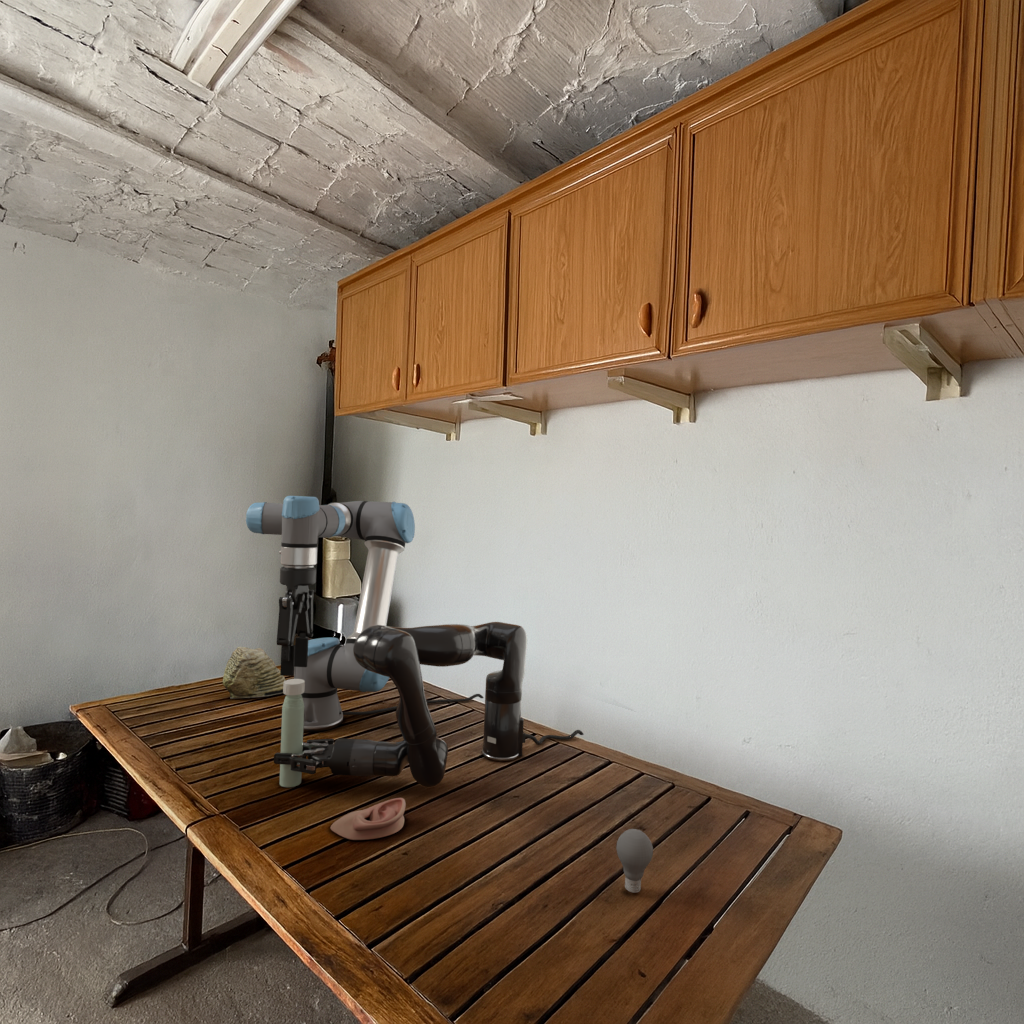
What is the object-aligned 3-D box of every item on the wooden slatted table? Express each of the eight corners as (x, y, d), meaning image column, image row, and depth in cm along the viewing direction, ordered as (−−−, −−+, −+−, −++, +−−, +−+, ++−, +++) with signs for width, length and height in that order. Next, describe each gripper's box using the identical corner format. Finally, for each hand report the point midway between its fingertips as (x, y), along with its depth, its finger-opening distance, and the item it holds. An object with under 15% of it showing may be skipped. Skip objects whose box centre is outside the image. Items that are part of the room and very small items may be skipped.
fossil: (218, 695, 195) (220, 647, 195) (278, 685, 208) (279, 640, 207) (228, 703, 189) (230, 653, 188) (289, 692, 201) (290, 645, 201)
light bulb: (610, 879, 108) (613, 822, 108) (644, 879, 109) (647, 822, 109) (619, 902, 102) (622, 840, 102) (655, 901, 103) (658, 840, 103)
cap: (308, 690, 141) (308, 680, 141) (296, 696, 137) (296, 685, 136) (291, 688, 142) (291, 677, 142) (279, 693, 138) (279, 682, 138)
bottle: (305, 780, 141) (309, 681, 141) (293, 788, 137) (296, 687, 136) (287, 776, 142) (291, 679, 142) (274, 785, 138) (278, 684, 138)
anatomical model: (323, 814, 118) (350, 787, 130) (322, 835, 118) (350, 806, 130) (389, 824, 116) (412, 796, 127) (389, 846, 116) (411, 816, 127)
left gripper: (299, 561, 149) (295, 659, 149) (261, 569, 129) (256, 682, 129) (330, 563, 148) (326, 660, 149) (297, 571, 129) (292, 684, 129)
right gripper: (364, 728, 146) (291, 724, 147) (347, 753, 132) (266, 749, 132) (363, 760, 146) (290, 757, 147) (346, 788, 132) (265, 784, 132)
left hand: (294, 670), depth 139 cm, fingers open, 7 cm apart
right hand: (279, 753), depth 140 cm, fingers closed on bottle, 4 cm apart
